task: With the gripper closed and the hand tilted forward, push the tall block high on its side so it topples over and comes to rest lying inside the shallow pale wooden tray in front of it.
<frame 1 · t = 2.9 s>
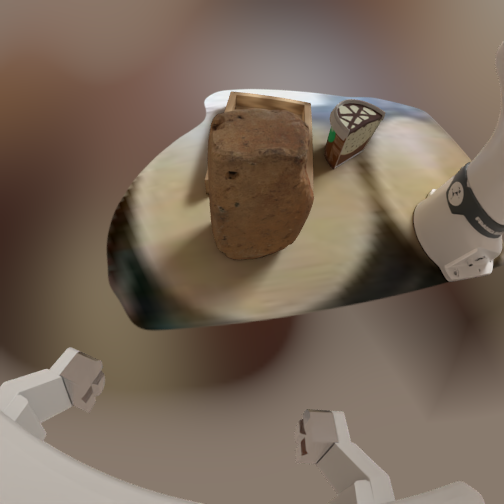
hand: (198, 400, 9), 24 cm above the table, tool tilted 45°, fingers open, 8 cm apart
wooden tray: (263, 147, 46), on the table
food container: (337, 149, 48), on the table
block: (252, 236, 39), on the table
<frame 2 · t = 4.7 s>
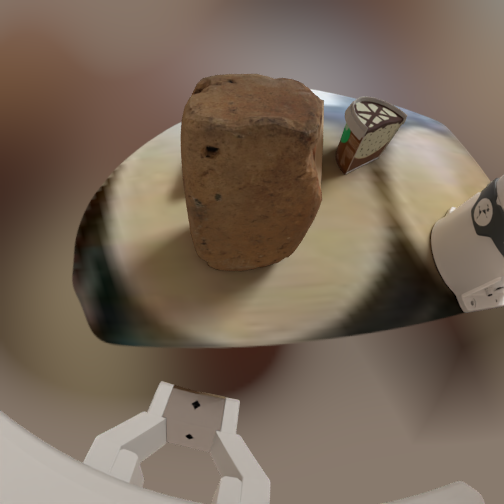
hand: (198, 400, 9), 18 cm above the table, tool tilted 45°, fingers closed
wooden tray: (266, 143, 40), on the table
food container: (349, 153, 42), on the table
block: (242, 244, 33), on the table
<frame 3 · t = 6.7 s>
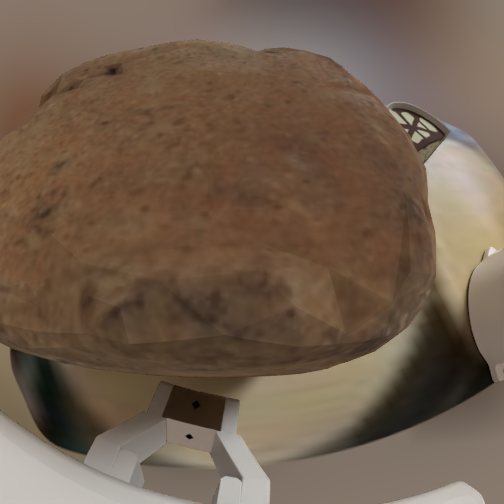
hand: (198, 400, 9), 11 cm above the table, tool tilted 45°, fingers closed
food container: (371, 178, 31), on the table
block: (218, 330, 21), on the table, touching gripper
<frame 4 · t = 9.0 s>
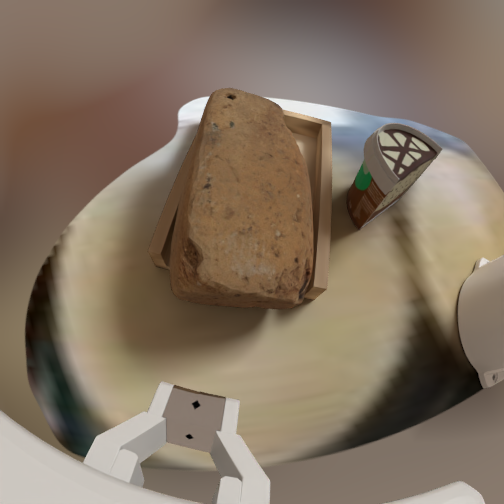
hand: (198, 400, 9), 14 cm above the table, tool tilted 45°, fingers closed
wooden tray: (255, 188, 31), on the table
food container: (364, 195, 32), on the table
block: (238, 307, 20), point 4 cm above the table, touching wooden tray
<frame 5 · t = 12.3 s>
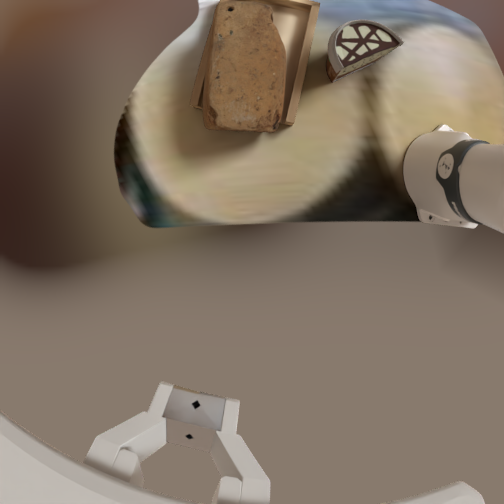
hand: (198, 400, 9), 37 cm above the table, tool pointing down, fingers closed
wooden tray: (258, 53, 35), on the table
food container: (343, 57, 35), on the table
block: (240, 132, 36), point 4 cm above the table, touching wooden tray
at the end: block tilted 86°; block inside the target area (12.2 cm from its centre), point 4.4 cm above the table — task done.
